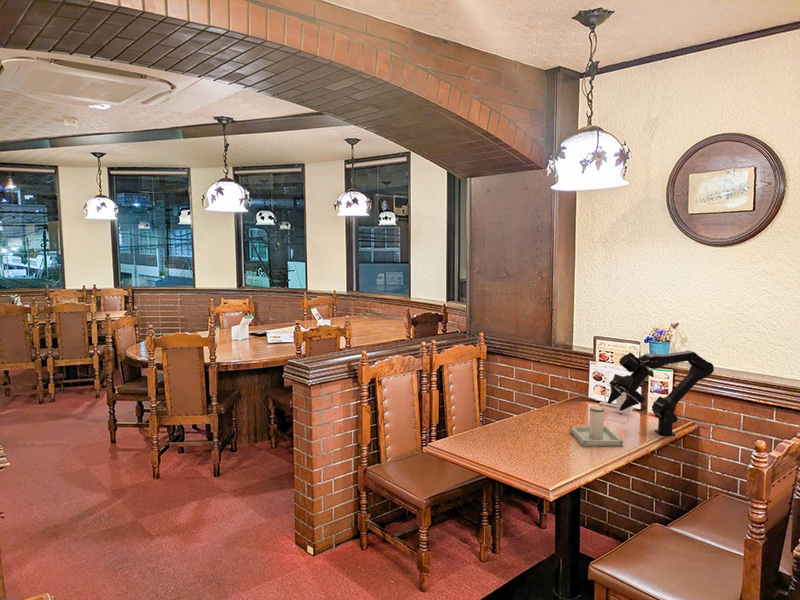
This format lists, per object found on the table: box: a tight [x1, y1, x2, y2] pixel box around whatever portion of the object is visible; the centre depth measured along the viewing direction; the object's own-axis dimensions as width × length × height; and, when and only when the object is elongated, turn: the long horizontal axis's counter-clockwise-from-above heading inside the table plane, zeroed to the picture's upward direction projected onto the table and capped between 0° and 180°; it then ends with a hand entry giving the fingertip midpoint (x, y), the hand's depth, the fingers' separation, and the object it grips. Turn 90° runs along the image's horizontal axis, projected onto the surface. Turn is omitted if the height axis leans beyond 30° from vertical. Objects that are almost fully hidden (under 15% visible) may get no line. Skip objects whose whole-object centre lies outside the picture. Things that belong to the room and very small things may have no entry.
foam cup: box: [615, 391, 633, 415], centre depth 276 cm, size 10×9×13 cm
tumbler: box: [588, 405, 605, 440], centre depth 239 cm, size 6×6×13 cm
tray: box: [570, 426, 624, 448], centre depth 240 cm, size 18×16×2 cm
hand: (614, 406), depth 242 cm, fingers open, 9 cm apart
